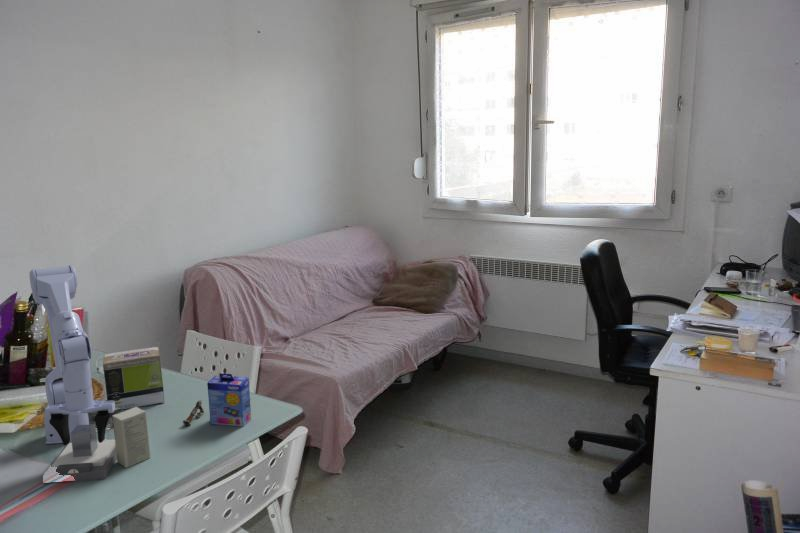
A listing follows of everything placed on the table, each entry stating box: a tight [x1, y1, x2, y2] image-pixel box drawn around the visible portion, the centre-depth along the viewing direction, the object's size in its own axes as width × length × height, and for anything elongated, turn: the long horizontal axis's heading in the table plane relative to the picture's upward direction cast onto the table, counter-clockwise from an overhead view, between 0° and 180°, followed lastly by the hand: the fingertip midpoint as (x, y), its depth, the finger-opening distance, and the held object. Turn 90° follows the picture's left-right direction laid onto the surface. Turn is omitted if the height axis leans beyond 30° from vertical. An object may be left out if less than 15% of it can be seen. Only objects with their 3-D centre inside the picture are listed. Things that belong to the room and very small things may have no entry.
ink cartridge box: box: [206, 373, 252, 427], centre depth 160 cm, size 10×6×14 cm, turn 81°
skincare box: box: [111, 407, 151, 468], centre depth 140 cm, size 6×4×12 cm
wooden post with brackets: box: [182, 399, 205, 427], centre depth 162 cm, size 2×8×4 cm, turn 166°
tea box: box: [102, 346, 166, 411], centre depth 173 cm, size 15×10×15 cm, turn 115°
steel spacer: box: [71, 423, 98, 457], centre depth 139 cm, size 4×4×6 cm
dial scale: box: [50, 438, 117, 482], centre depth 139 cm, size 13×14×3 cm
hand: (84, 441), depth 139 cm, fingers open, 7 cm apart
